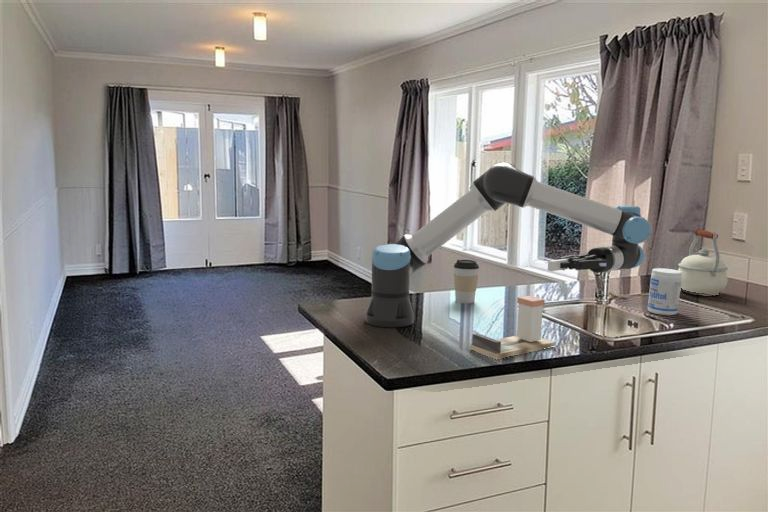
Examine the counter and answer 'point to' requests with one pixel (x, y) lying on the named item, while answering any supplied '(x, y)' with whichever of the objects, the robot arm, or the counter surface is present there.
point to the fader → (529, 318)
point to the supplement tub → (664, 291)
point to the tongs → (616, 295)
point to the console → (506, 346)
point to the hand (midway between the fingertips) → (550, 265)
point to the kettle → (703, 268)
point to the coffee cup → (465, 280)
